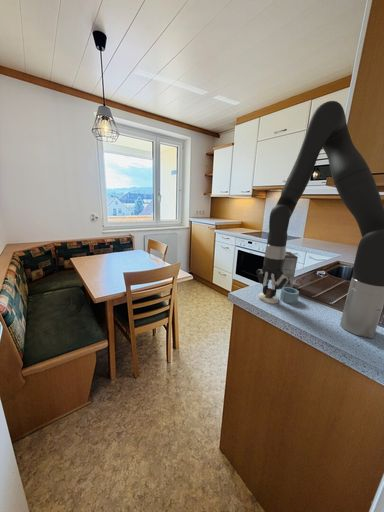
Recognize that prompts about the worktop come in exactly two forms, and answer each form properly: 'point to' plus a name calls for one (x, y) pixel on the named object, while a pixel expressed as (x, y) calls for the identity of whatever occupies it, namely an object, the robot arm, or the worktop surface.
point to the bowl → (289, 295)
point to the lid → (268, 297)
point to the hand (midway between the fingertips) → (268, 295)
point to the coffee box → (289, 268)
